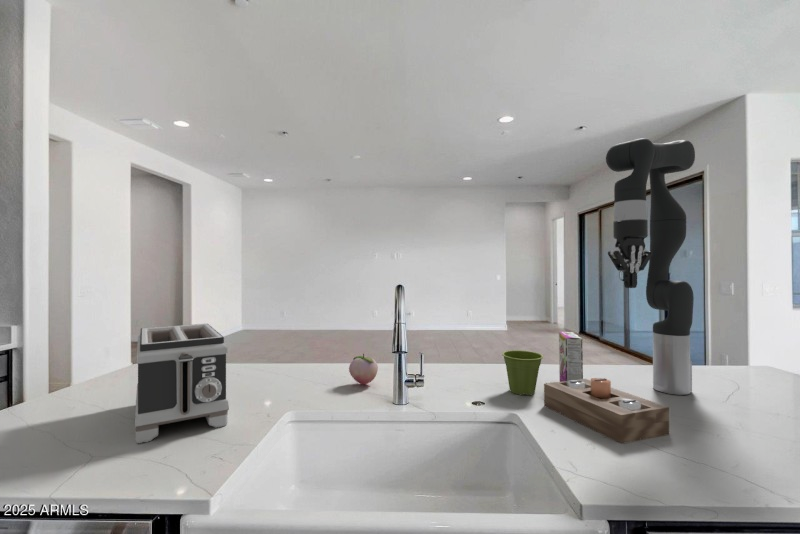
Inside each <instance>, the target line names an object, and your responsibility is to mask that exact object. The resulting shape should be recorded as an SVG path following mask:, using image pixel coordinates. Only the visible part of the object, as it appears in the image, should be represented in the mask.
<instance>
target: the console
mask: <svg viewBox="0 0 800 534" xmlns="http://www.w3.org/2000/svg"><path fill="white" fill-rule="evenodd" d="M578 381H582V382H584V383H585V388H584V389H576V390H575V389H573V388H570V387H568V386H567V381H561V382H560V381H556V382H555V381H552V382H545V383H543V398H544V399H543V405H544V407H545V406H546V408H547V407H548V409H549V410H552V411H553V412H556V413H558V414H560V415H561V416H564V417H566V418H568V419H570V420H573V422H574V421H575V422H577V423H578V424H580V425H583V426H585V428H586V427H587V428H588V429H590V430H593V431H595V432H597V433H599V434H601V435H603V436H605V437H607V438H609V439H611V440H612V441H615V442H618V443H619V444H627V443H631V442H637V441H642V440H646V439H647V440H648V439H652V438H656V437H663V436H667V435H670V407H669V406H667V405H664V404H660V403H657V402H654V401H652V400H649V399H646V398H643V397H640V396H637V395H635V394H634V395H633V394H631V393H629V392H625V391H623V390H620V389H617V388H614V387H611V397H610V398H599V397H595V396H592V395H591V379H588V378H583V379H578ZM619 399H634V400H636V401H638V402H640V403H641V410H635V411H630V410H627V409H624V408H622V407H619V406H618V400H619Z"/></svg>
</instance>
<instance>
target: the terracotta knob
mask: <svg viewBox="0 0 800 534" xmlns="http://www.w3.org/2000/svg"><path fill="white" fill-rule="evenodd" d="M590 380H591V395H592V396H595V397H599V398H610V397H611V388H612V383H611V382H612V381H611V380H610V379H607V378H606V377H603V378H602V377H593V378H592V377H591V378H590Z"/></svg>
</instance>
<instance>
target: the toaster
mask: <svg viewBox="0 0 800 534" xmlns="http://www.w3.org/2000/svg"><path fill="white" fill-rule="evenodd" d="M136 345H137V347H136V364H137V383H136V384H137V385H136V394H135V395H136V396H135V416H134V417H135V419H134V427H135V443H136V444H138V443H141V444H143V443H142V442H146V443H148V442H147V441H150V442H152V440H153V439H155V438H156V437H158V436H159V434H160V433H159V426H161V425H167V424H172V423H177V422H183V421H187V420H194V419H199V418H205V419H206V421H207V424H208V425H209V426H211V427H213V428H215V429H218V428H223V427H226V426H227V425H228V424H229V422H228V421H229V419H228V418H229V417H228V414H229V413H228V412H229V405H230V404H229V401H228V399H227V354H228V345H227V344H225V337H224V336H223V335H222V334H221V333H220V332H218V331H217V330H216V329H215V328H214V327H213V326H211V324H209V323H197V324H183V325H168V326H157V327H155V326H153V327H141V328H140V333H139V335H138V336H137V344H136ZM222 426H223V427H222ZM217 427H218V428H217Z"/></svg>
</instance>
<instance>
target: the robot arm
mask: <svg viewBox="0 0 800 534" xmlns="http://www.w3.org/2000/svg"><path fill="white" fill-rule="evenodd" d="M695 150H696V149H695V146H694V145H693V143H692V142H691V141H690V140H687V139H679V140H674V141H670V142H665V143H656V142H655V143H654V142H652V140H650V139H649V138H646V137H643V138H642V137H641V138H637V139H633V140H629V141H625V142H620V143H617V144H614V145H613V146H611V147H610V148H609V150H608V151H607V153H606V156H605V163H606V165H607V166H608V169H610V170H611V171H613V172H616V173H617V172H618V173H620V172H626V171H632V172H631V174H630V175H628V176H626V177H624V178H621V179H619V180H617V181H616V182H614V188H613V189H614V190H613V192H614V201H613V202H614V204H613V213H612V215H613V220H612V222H613V225H612V226H613V227H612V228H613V231H612V232H613V233H612V235H613V239H615V240H616V241H615V244H614V248H613V250H609V251H608V252H607V255H608V257H609V258H610V260H611V262H612V264H613V265H614V267H615V268H616V270H617V272H618V271H619V272H622V274H623V284H624V288H626V289H636V288H637V285H638V274H639V272H641V271H644V270H645V268H646V266H647V264H648V271H647V277H646V287H645V297H646V298H645V299H646V302H647V304H648V306H649V307H650V308H651V309H653V310H661V311H666V312H667V316H666V318H664V319H662V320H659V321H657V322H654V323H653V324H652V388H653V390H656V391H658V392H661V393H665V394H668V395H669V394H670V395H679V396H685V395H690V394H691V393H692V392H693V361H692V359H691V328H692V326H693V325H692V324H693V320H694V319H693V318H694V317H693V314H694V313H693V312H694V291H693V288H692V286H691V285H690V283H688V282H687V281H685V280H673V279H672V280H670V279H669V275H670V274H669V272H670V266H671V264H672V261H673V259H674V258H675V256H676V255H677V252H679V250H680V248H682V246H683V244H684V242H685V240H686V237H687V214H686V211H685V210H684V209H683V207H682V205H680V203H679V202H678V201H677V200H676V198H675V197H674V196H673V195H672V194H671V192H670V191H669V188H668V187H667V184H666V180H665V175H668V174H673V173H679V172H684V171H687V170H689V169H690V168H692V167H693V165H694V164H695V160H696V151H695ZM648 178H649V187H650V214H649V215H648V205H647V185H648V184H647V183H648ZM648 216H649V219H648ZM648 220H649V223H648ZM648 224H649V226H648ZM648 227H649V228H648ZM648 229H649V233H648ZM648 234H649V250H647V248H646V243H645V239H647V238H648Z"/></svg>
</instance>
